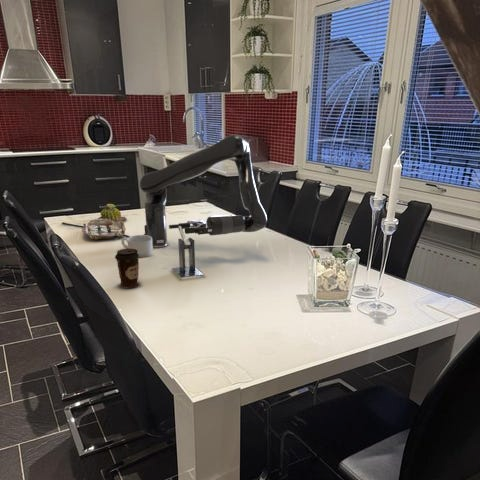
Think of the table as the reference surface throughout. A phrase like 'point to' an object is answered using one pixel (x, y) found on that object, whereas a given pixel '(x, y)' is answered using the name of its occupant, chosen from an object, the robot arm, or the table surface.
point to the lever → (182, 233)
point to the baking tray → (104, 229)
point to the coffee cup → (128, 267)
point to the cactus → (111, 213)
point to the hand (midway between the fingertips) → (181, 228)
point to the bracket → (190, 269)
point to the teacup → (139, 244)
